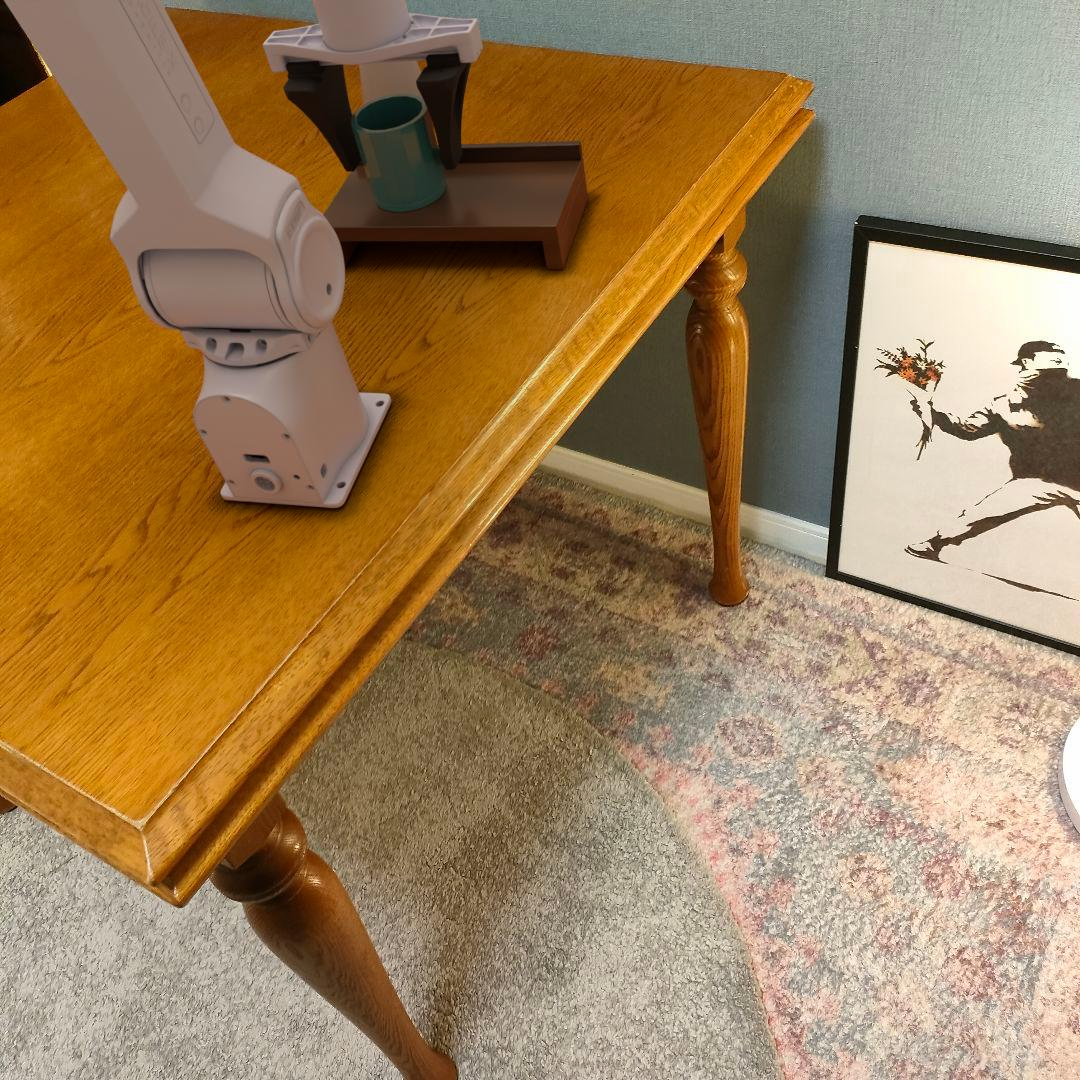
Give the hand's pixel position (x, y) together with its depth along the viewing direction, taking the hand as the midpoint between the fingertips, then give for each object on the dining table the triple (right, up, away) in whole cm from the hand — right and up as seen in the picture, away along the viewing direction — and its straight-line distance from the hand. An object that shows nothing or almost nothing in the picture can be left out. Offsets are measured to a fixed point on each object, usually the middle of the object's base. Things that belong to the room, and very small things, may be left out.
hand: (403, 163), depth 72 cm
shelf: (+4, -4, +4) cm, 6 cm away
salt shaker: (-2, +9, +16) cm, 19 cm away
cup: (0, -1, +2) cm, 2 cm away
